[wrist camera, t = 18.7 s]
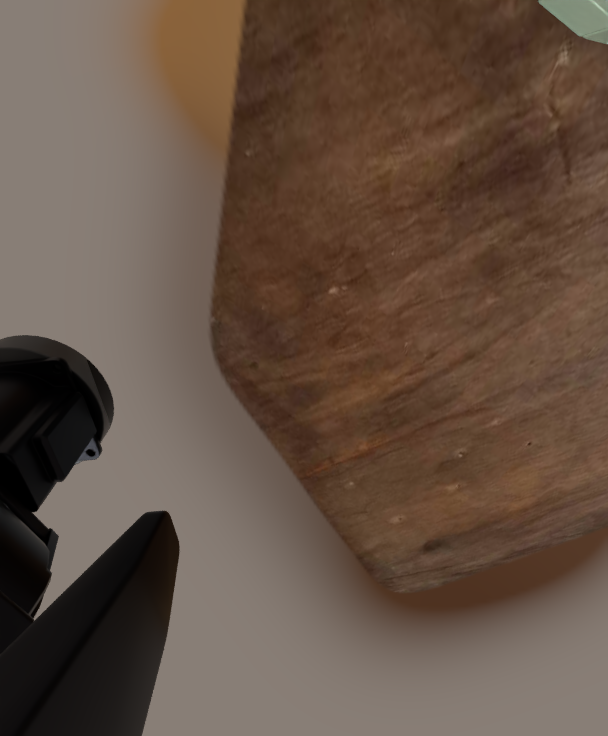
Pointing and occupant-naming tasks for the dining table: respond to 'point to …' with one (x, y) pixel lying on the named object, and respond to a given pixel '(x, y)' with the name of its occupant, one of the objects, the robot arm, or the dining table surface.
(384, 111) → the dining table surface
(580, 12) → the mixing bowl
